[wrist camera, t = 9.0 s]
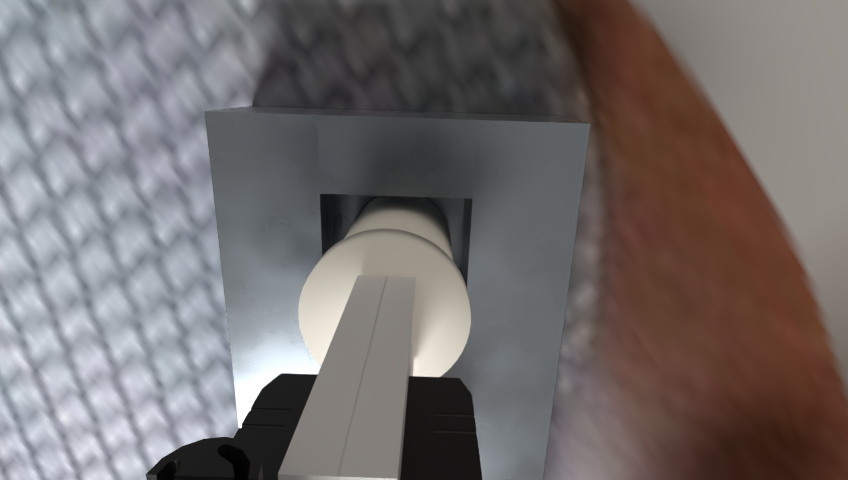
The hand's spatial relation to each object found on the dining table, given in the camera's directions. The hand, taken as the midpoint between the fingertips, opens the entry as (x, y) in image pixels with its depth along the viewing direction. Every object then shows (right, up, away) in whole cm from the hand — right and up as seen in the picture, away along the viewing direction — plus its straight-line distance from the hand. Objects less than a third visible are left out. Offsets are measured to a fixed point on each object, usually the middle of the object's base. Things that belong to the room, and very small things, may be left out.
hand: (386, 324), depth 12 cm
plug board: (0, -6, +10) cm, 12 cm away
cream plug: (0, +2, +7) cm, 7 cm away
